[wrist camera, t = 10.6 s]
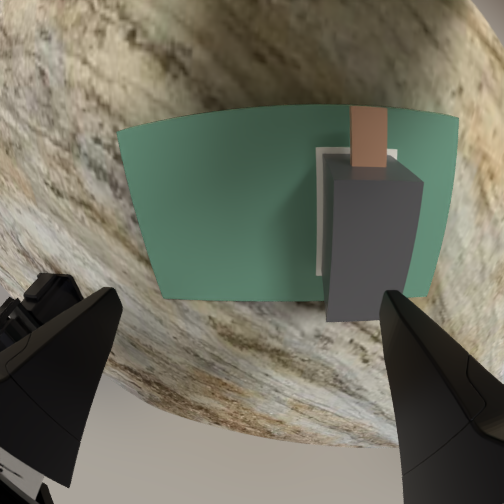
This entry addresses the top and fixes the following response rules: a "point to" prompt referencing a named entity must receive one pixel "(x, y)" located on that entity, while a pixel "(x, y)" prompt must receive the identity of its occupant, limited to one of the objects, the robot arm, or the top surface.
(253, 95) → the top surface
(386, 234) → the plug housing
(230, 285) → the board
